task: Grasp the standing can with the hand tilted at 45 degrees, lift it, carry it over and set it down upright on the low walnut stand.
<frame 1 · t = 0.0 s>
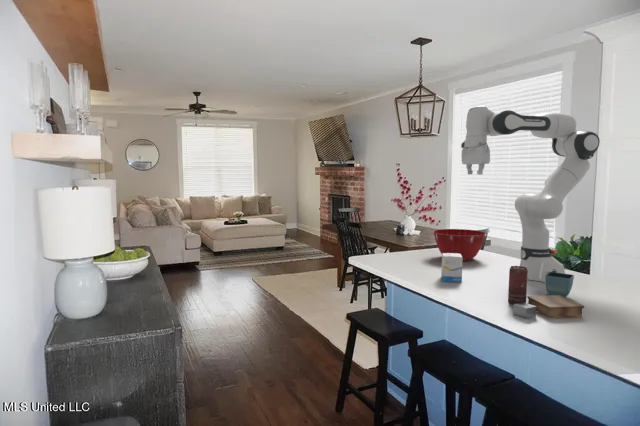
hand: (474, 174, 188), 48 cm above the table, tool pointing down, fingers open, 8 cm apart
can: (516, 304, 158), on the table
steel block: (524, 316, 144), on the table
ink box: (451, 280, 192), on the table
flower pot: (558, 297, 166), on the table
mixing bowl: (458, 258, 238), on the table
stand: (554, 311, 148), on the table
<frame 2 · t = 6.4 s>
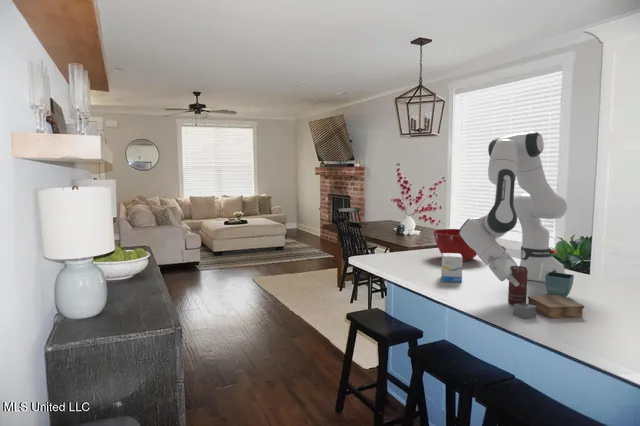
hand: (519, 283, 156), 8 cm above the table, tool tilted 45°, fingers closed on can, 4 cm apart
can: (516, 304, 157), on the table, touching gripper
everything else where it was.
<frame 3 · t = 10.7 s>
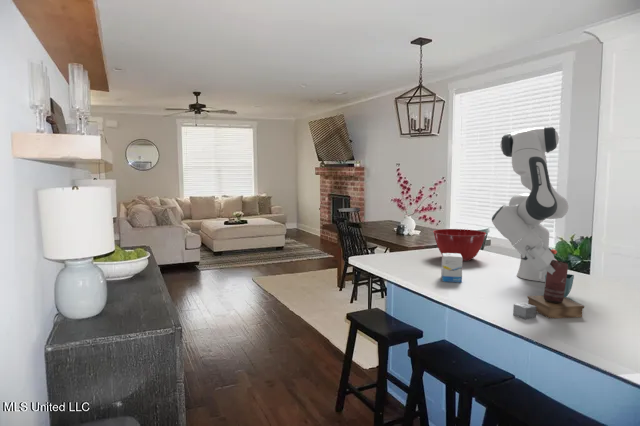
hand: (558, 274, 147), 14 cm above the table, tool tilted 45°, fingers closed on can, 3 cm apart
can: (552, 300, 148), point 4 cm above the table, touching gripper, stand
everything else where it was.
when the fingers open (14 cm above the table, at t = 10.9 s): can stays where it is, resting on stand.
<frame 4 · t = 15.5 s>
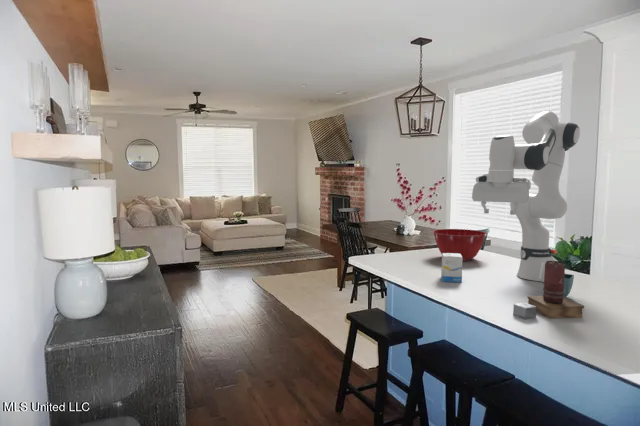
hand: (499, 213, 162), 33 cm above the table, tool pointing down, fingers open, 8 cm apart
can: (552, 301, 148), point 4 cm above the table, touching stand
everything else where it was.
at the end: can inside the target area on the stand (1.0 cm from its centre), point 3.8 cm above the stand's base; can tilted 1°; the gripper is holding nothing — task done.
